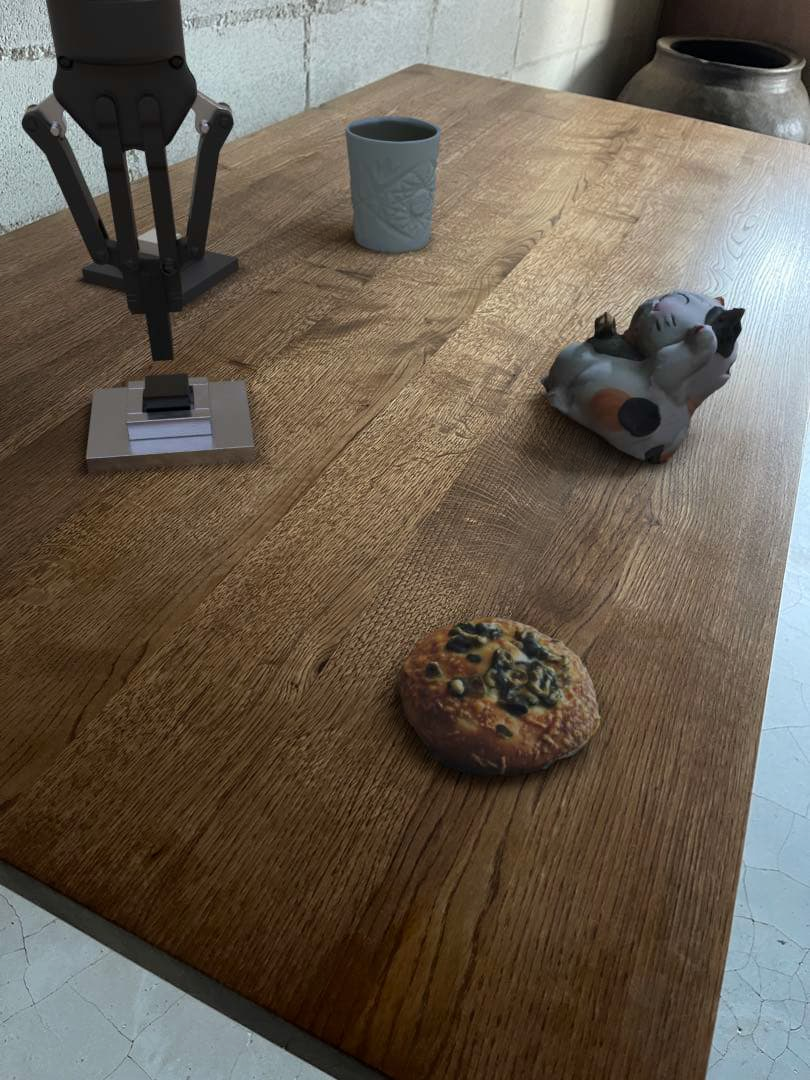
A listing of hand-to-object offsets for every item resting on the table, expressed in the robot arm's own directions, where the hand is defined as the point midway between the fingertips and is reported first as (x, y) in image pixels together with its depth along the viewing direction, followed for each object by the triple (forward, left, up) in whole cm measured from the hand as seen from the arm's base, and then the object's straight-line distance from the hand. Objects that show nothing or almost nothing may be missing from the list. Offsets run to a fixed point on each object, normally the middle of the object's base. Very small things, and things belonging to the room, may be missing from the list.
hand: (163, 351), depth 67 cm
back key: (-11, +28, -4) cm, 30 cm away
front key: (0, 0, -4) cm, 4 cm away
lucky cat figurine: (+35, +9, -7) cm, 37 cm away
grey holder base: (0, 0, -7) cm, 7 cm away
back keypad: (-11, +28, -7) cm, 31 cm away
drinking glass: (+10, +44, -7) cm, 46 cm away
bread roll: (+27, -23, -7) cm, 36 cm away
